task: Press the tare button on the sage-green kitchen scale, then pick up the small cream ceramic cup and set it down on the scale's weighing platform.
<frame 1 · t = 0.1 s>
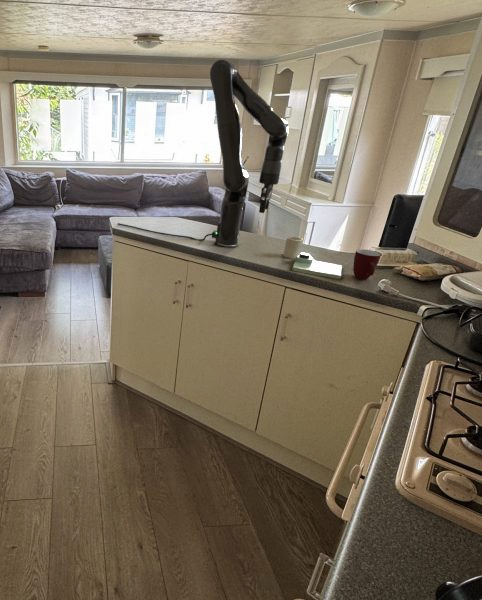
hand: (263, 210, 183), 17 cm above the worktop, tool pointing down, fingers open, 8 cm apart
tare button: (304, 255, 172), point 3 cm above the worktop, slide at 0.1 cm
cream cup: (290, 256, 182), on the worktop
scale: (316, 269, 168), on the worktop
mug: (362, 279, 160), on the worktop
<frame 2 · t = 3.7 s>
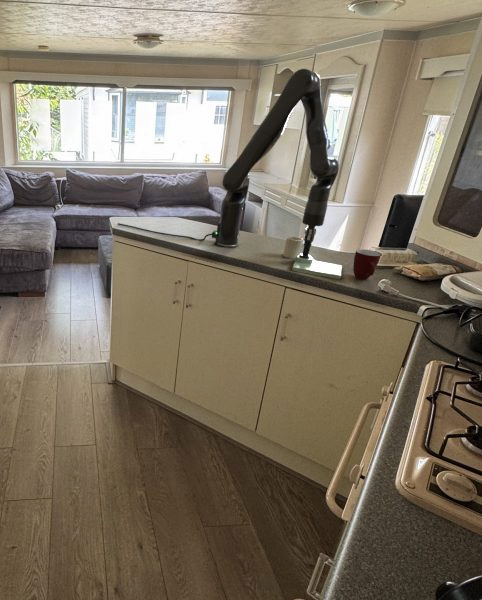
hand: (305, 255, 172), 4 cm above the worktop, tool pointing down, fingers closed
tare button: (304, 257, 172), point 3 cm above the worktop, slide at -0.4 cm, touching gripper
everything else where it was.
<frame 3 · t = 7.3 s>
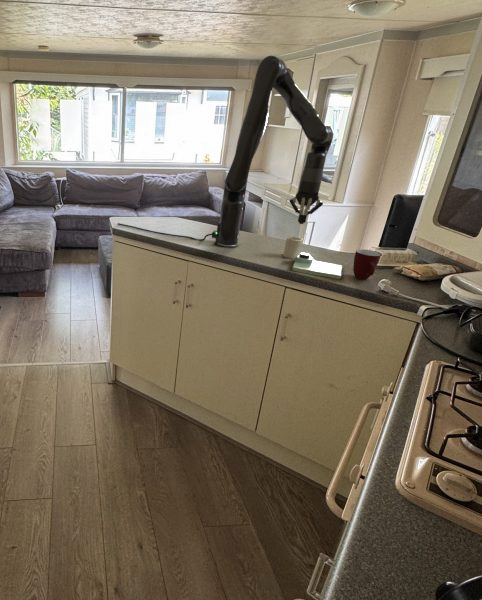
hand: (301, 223, 174), 15 cm above the worktop, tool pointing down, fingers closed
tare button: (304, 255, 172), point 3 cm above the worktop, slide at 0.1 cm
everything else where it was.
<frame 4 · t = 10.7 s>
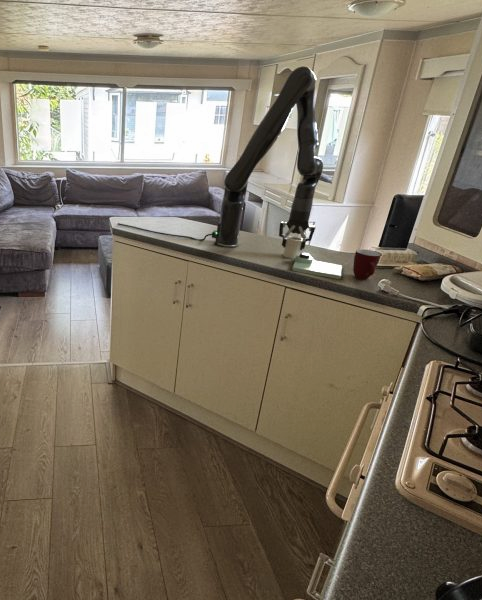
hand: (292, 248, 181), 4 cm above the worktop, tool pointing down, fingers closed on cream cup, 6 cm apart
cream cup: (290, 256, 182), on the worktop, touching gripper
everything else where it was.
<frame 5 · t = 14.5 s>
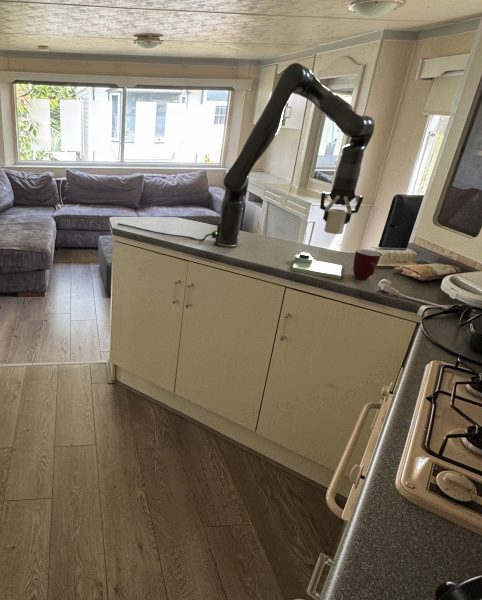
hand: (335, 222, 160), 19 cm above the worktop, tool pointing down, fingers closed on cream cup, 6 cm apart
cream cup: (333, 231, 161), point 15 cm above the worktop, touching gripper
everything else where it was.
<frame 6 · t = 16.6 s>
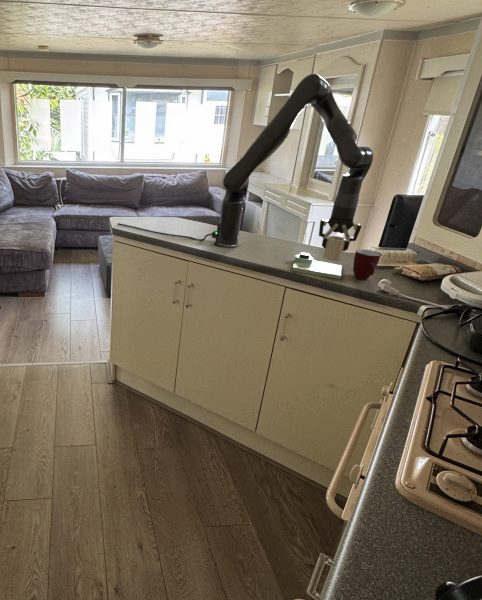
hand: (333, 249, 162), 9 cm above the worktop, tool pointing down, fingers closed on cream cup, 6 cm apart
cream cup: (331, 258, 163), point 6 cm above the worktop, touching gripper
everything else where it was.
when the fingers open (5 cm above the worktop, at t = 18.2 s): cream cup stays where it is, resting on scale.
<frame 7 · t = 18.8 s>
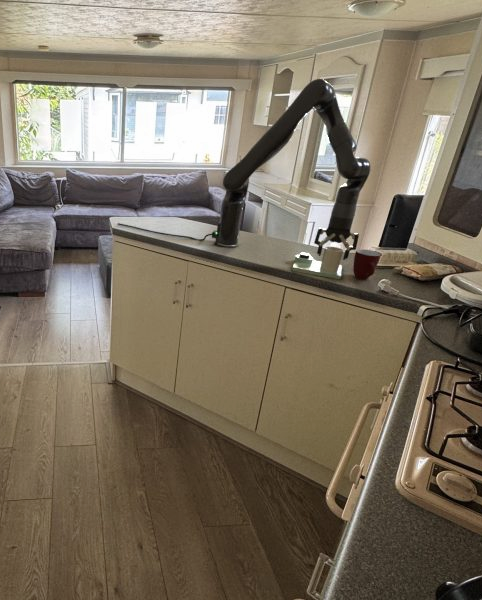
hand: (331, 257, 163), 6 cm above the worktop, tool pointing down, fingers open, 8 cm apart
cream cup: (328, 268, 165), point 1 cm above the worktop, touching scale
everything else where it was.
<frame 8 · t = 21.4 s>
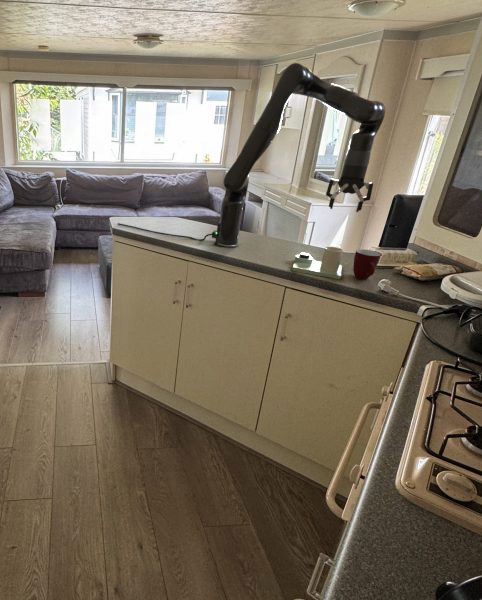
hand: (343, 210, 156), 24 cm above the worktop, tool pointing down, fingers open, 8 cm apart
nothing on the worktop moved.
at the end: tare button pushed in 0.9 cm at the most during the clip, back to where it started at the end; cream cup inside the target area on the scale (3.5 cm from its centre), point 1.4 cm above the scale's base; cream cup touching scale; cream cup tilted 0° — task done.
